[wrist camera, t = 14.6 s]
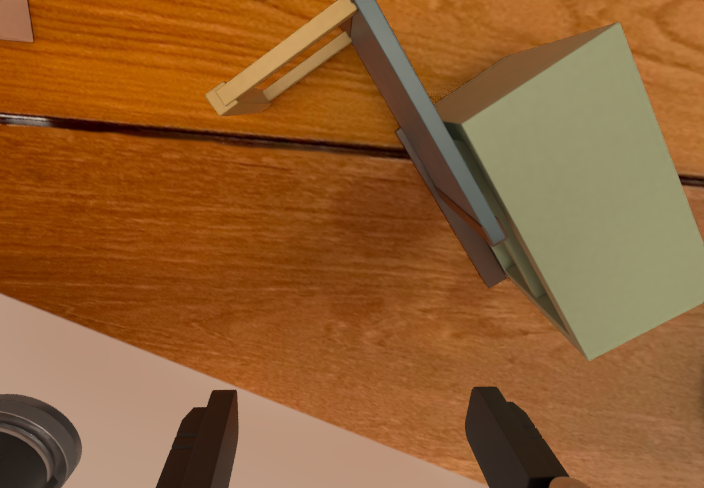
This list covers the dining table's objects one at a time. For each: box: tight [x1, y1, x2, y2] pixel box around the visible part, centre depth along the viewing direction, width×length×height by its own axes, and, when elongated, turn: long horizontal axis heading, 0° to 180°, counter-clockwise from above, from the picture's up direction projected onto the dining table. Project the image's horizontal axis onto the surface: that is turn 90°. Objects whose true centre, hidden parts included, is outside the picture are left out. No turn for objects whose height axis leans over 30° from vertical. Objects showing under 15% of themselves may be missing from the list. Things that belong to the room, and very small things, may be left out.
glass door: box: [205, 0, 508, 247], centre depth 25 cm, size 9×15×12 cm, turn 33°
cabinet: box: [394, 22, 704, 361], centre depth 27 cm, size 10×16×13 cm, turn 33°
